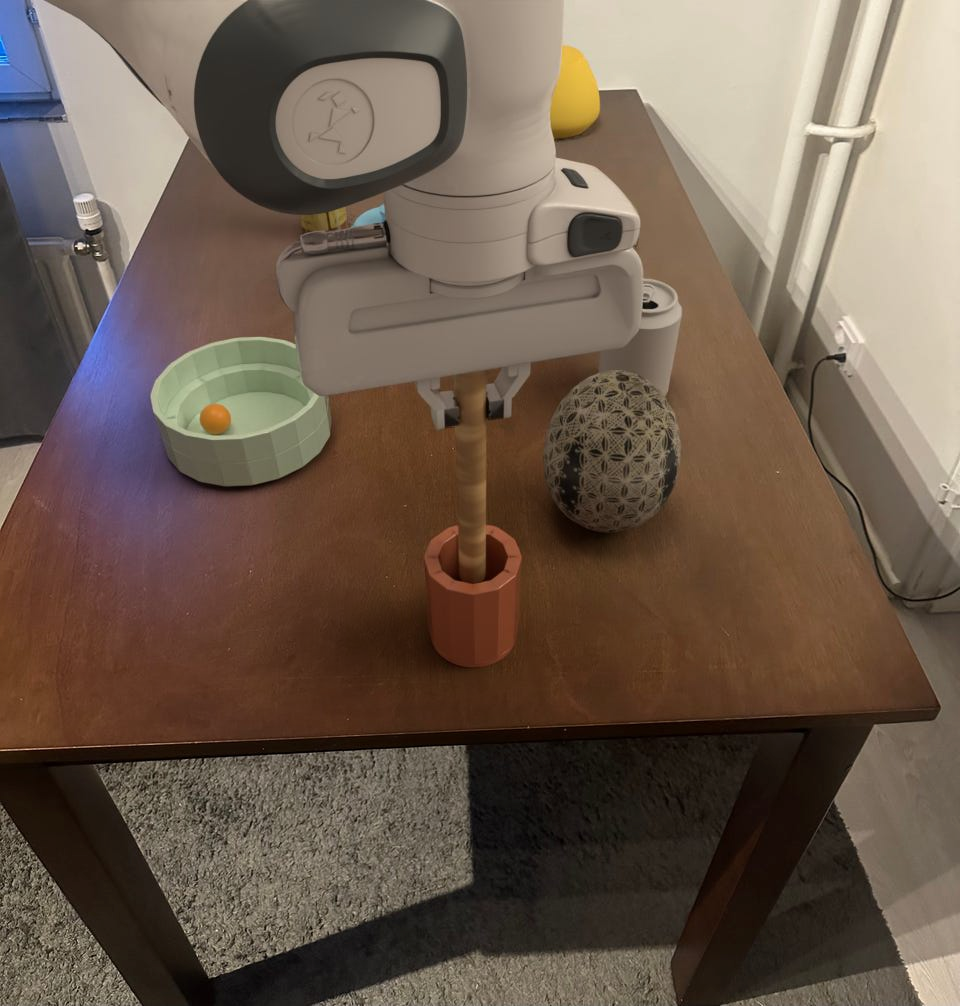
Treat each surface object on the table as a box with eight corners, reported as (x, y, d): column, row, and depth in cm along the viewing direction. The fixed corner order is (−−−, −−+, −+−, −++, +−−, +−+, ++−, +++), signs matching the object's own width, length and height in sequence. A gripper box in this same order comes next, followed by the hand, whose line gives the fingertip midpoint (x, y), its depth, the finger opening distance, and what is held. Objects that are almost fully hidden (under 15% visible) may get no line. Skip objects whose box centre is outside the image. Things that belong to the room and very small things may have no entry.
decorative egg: (513, 519, 81) (518, 385, 71) (588, 454, 87) (603, 323, 77) (620, 582, 76) (642, 448, 65) (692, 509, 82) (723, 376, 71)
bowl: (136, 475, 85) (117, 423, 81) (214, 378, 97) (201, 327, 92) (293, 505, 82) (282, 452, 78) (355, 401, 94) (348, 349, 89)
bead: (195, 432, 88) (190, 409, 86) (216, 416, 90) (213, 393, 88) (217, 444, 88) (214, 421, 85) (239, 428, 89) (236, 405, 87)
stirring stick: (456, 580, 67) (449, 359, 53) (463, 561, 68) (458, 341, 54) (482, 586, 66) (481, 364, 52) (488, 566, 68) (490, 345, 54)
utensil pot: (419, 657, 70) (413, 582, 64) (444, 591, 75) (440, 515, 69) (505, 676, 69) (508, 601, 62) (525, 607, 74) (529, 532, 67)
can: (589, 406, 93) (600, 306, 84) (603, 366, 98) (614, 268, 90) (661, 419, 91) (679, 319, 83) (671, 378, 96) (689, 279, 88)
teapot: (609, 139, 142) (617, 54, 133) (492, 146, 140) (493, 60, 132) (581, 94, 156) (587, 14, 148) (475, 100, 155) (475, 19, 146)
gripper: (276, 268, 43) (314, 480, 52) (670, 215, 47) (637, 421, 56) (263, 210, 47) (301, 415, 57) (624, 166, 51) (602, 365, 61)
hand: (471, 418), depth 56 cm, fingers closed on stirring stick, 2 cm apart
